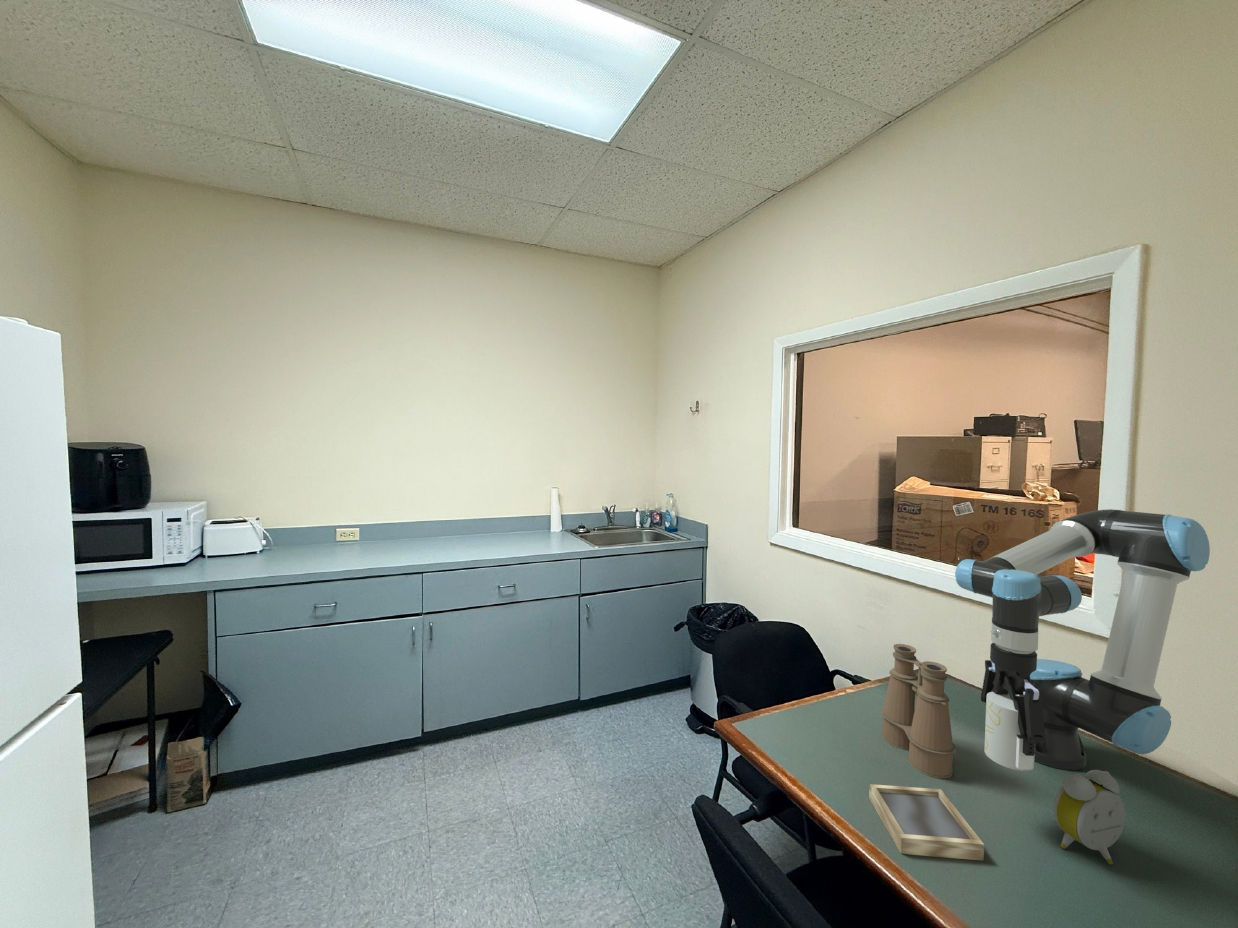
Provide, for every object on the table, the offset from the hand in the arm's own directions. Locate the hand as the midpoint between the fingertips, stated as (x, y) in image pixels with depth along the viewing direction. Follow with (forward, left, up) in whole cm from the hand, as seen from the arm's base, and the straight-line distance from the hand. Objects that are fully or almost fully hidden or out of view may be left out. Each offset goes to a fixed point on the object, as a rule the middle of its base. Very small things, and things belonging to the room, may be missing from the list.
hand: (1008, 753), depth 103 cm
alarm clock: (-12, +6, -15) cm, 20 cm away
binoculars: (+7, -23, -15) cm, 28 cm away
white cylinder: (0, 0, -1) cm, 1 cm away
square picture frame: (+18, +3, -15) cm, 24 cm away
